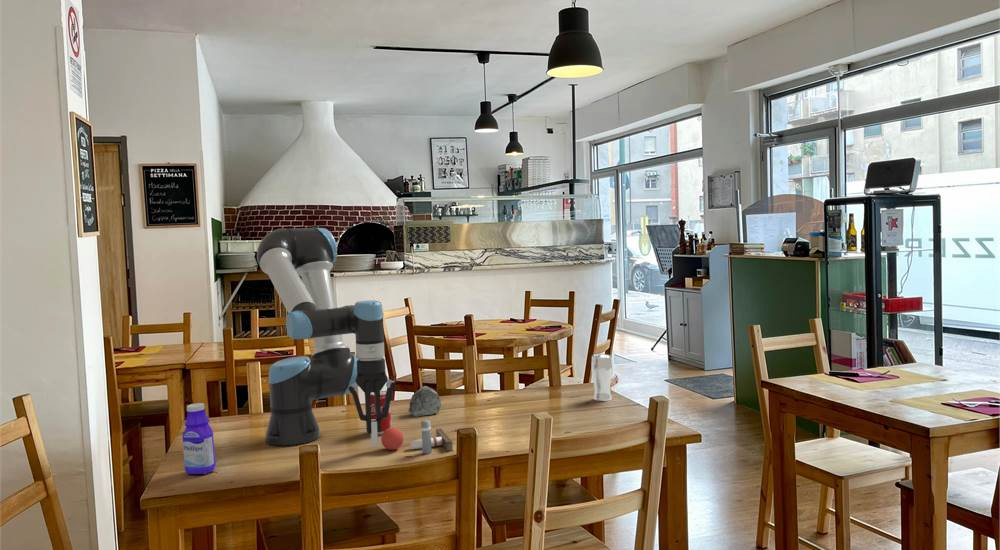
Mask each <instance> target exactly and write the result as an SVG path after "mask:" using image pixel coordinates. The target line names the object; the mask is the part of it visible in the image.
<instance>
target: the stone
mask: <svg viewBox="0 0 1000 550" xmlns="http://www.w3.org/2000/svg"><path fill="white" fill-rule="evenodd" d="M441 407H442V403H441V398H440V396H439V394H438V392H437V391H436V390H435V389H433V388H432V387H429V386H426V385H423V386H422V387H420V388H419V389H418V390H416V392H414V394H412V396H411V399H410V401H409V407H408V409H407V411H408V412H409V414H410V415H411V416H413V417H415V418H417V417H421V416H422V417H423V416H428V415H430V416H431V415H435V414H437V413H439V412H440V409H441Z"/></svg>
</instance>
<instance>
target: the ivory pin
mask: <svg viewBox="0 0 1000 550" xmlns="http://www.w3.org/2000/svg"><path fill="white" fill-rule="evenodd" d="M442 444H443V442H442V437H436V436H433V437H431V448H436V447H441V446H442V447H443V445H442ZM409 445H410V450H417V449H422V438H420V439H412V440H410V441H409Z"/></svg>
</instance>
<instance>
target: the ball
mask: <svg viewBox="0 0 1000 550" xmlns="http://www.w3.org/2000/svg"><path fill="white" fill-rule="evenodd" d="M380 441H381V444H382V446H383V447H384V448H385V449H387V450H389V451H395V450H398V449H399V448H400V447H402V445H403V443H404V434H403V432H402V431H401V429H399V428H398V427H394V426H393V427H392V426H391V428H388V429H386V430H385V431H384V432H383V434H382V435H381V439H380Z"/></svg>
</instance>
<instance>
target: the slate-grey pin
mask: <svg viewBox="0 0 1000 550" xmlns="http://www.w3.org/2000/svg"><path fill="white" fill-rule="evenodd" d="M420 428H421V439H422V448H421V451H422V454H424V455H429V454H432V451H433V450H432V447H431V438H432V424H431V420H430V419H429V420H428V419H425V420H421V427H420Z"/></svg>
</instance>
